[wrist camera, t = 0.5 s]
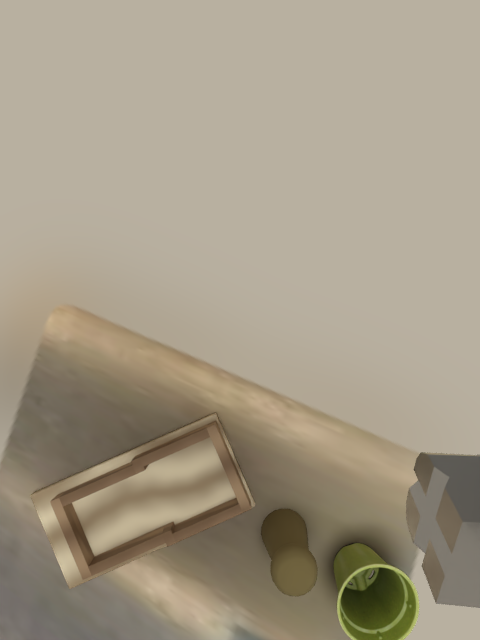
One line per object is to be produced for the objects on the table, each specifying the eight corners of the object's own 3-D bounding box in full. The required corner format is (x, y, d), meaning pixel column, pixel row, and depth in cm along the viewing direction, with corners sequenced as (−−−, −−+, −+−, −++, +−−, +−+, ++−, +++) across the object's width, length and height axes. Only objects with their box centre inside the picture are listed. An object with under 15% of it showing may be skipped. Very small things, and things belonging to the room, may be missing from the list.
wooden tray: (255, 502, 58) (256, 513, 54) (72, 584, 57) (62, 601, 53) (215, 412, 58) (215, 417, 55) (33, 492, 57) (20, 502, 54)
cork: (252, 540, 58) (257, 589, 47) (275, 500, 58) (285, 539, 47) (292, 563, 58) (306, 617, 47) (315, 523, 58) (334, 567, 47)
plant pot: (403, 549, 58) (433, 587, 49) (372, 614, 58) (397, 663, 49) (340, 517, 58) (359, 550, 49) (309, 582, 58) (322, 626, 49)
